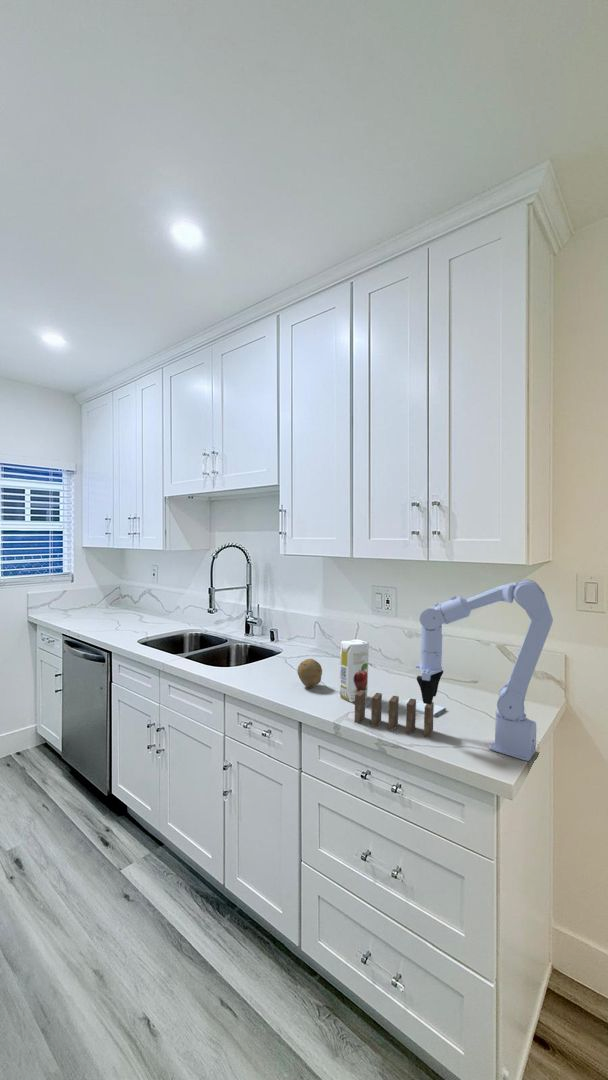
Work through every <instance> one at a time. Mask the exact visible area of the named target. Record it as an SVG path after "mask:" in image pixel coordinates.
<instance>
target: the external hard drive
mask: <svg viewBox="0 0 608 1080" xmlns="http://www.w3.org/2000/svg"><path fill="white" fill-rule="evenodd" d="M410 698H411V699H413V698H412V697H409V698H407V699H405V700H403V701H401V702H399V705H398V708H402V709H405V710H407V703H408V701H409V700H410ZM425 706H426V704H425V703H423V700H418V699H416V713H419V714H422V715H424V714H425ZM446 711H447V707H445V706H441V705H436V704H434V712H433V718H435V717H438V716H439V715H440V714H442V713H444V712H446Z"/></svg>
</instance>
